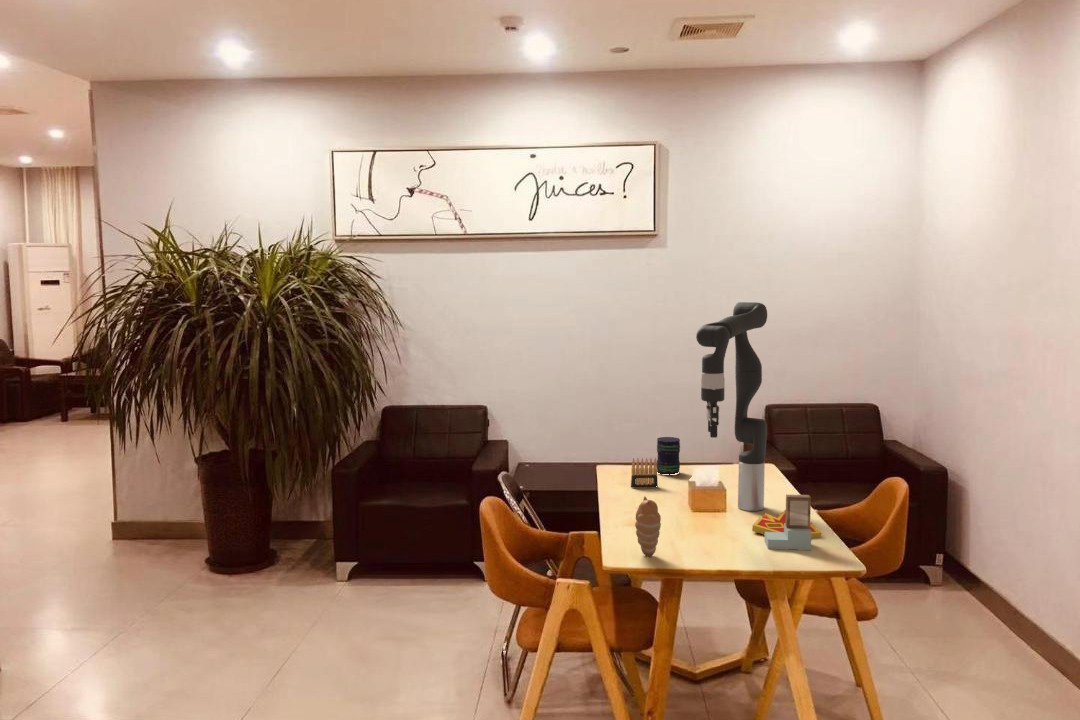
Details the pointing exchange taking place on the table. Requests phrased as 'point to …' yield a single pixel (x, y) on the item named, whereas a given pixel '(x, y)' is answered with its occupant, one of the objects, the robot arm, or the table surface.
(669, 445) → the storage jar
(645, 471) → the ammunition clip
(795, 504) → the frame
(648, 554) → the brown ribbed tall piece
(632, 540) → the table surface
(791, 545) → the blue-grey stepped block
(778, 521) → the wall decoration
